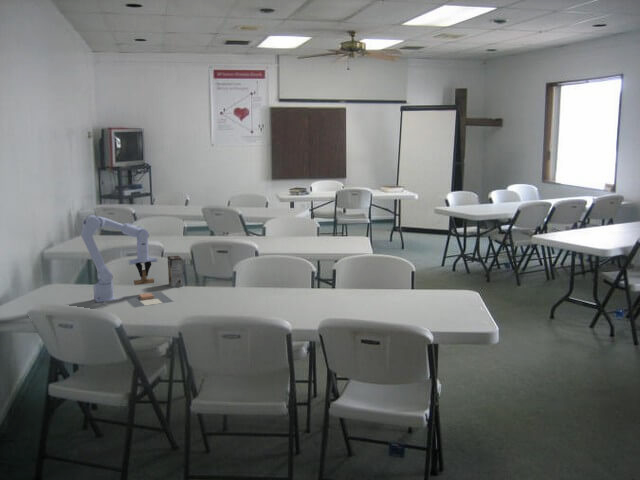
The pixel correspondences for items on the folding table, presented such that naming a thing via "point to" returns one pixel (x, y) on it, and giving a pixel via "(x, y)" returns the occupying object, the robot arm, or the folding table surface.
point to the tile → (146, 296)
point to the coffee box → (175, 271)
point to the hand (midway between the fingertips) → (143, 276)
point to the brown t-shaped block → (143, 279)
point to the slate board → (148, 300)
